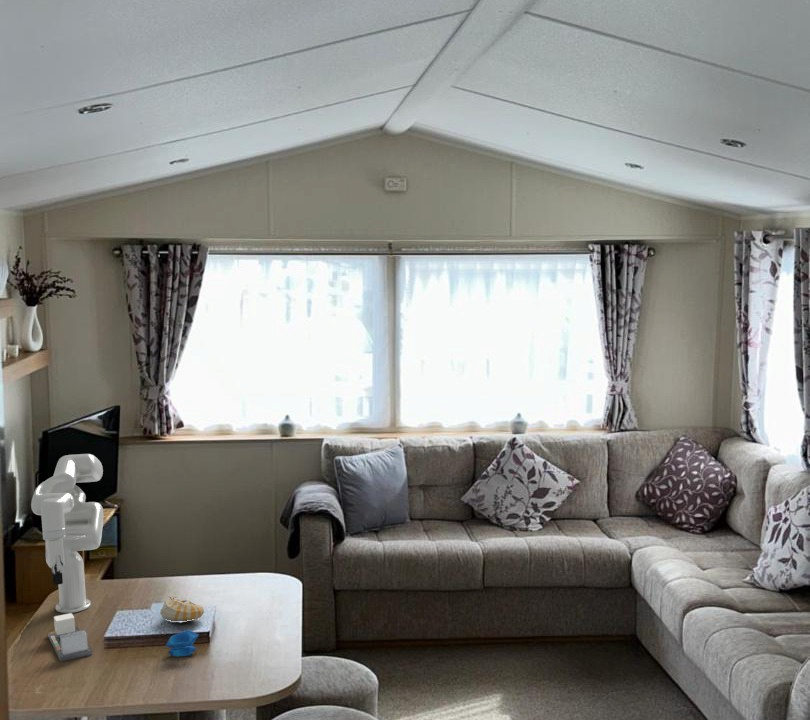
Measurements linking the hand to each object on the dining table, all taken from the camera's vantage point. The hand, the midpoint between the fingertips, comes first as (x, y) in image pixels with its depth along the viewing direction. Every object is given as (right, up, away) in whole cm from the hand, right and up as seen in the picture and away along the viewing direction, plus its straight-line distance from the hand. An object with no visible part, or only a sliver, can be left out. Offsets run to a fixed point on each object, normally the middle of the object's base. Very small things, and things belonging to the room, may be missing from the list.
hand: (57, 583), depth 337 cm
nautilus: (+41, -16, +11) cm, 45 cm away
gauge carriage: (+3, -15, -5) cm, 17 cm away
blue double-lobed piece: (+49, -19, -20) cm, 57 cm away
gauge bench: (+8, -19, -10) cm, 23 cm away
